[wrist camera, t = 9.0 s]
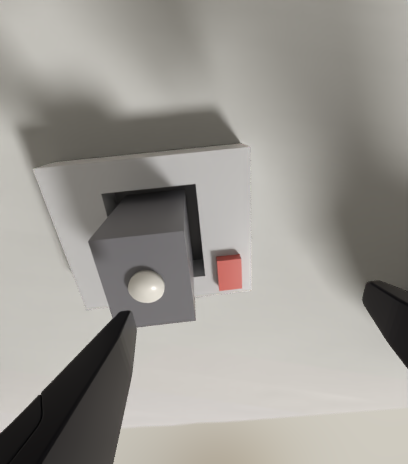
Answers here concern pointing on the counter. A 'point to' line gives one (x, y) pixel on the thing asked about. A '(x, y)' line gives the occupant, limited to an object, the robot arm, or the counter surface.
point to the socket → (156, 180)
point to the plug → (147, 258)
